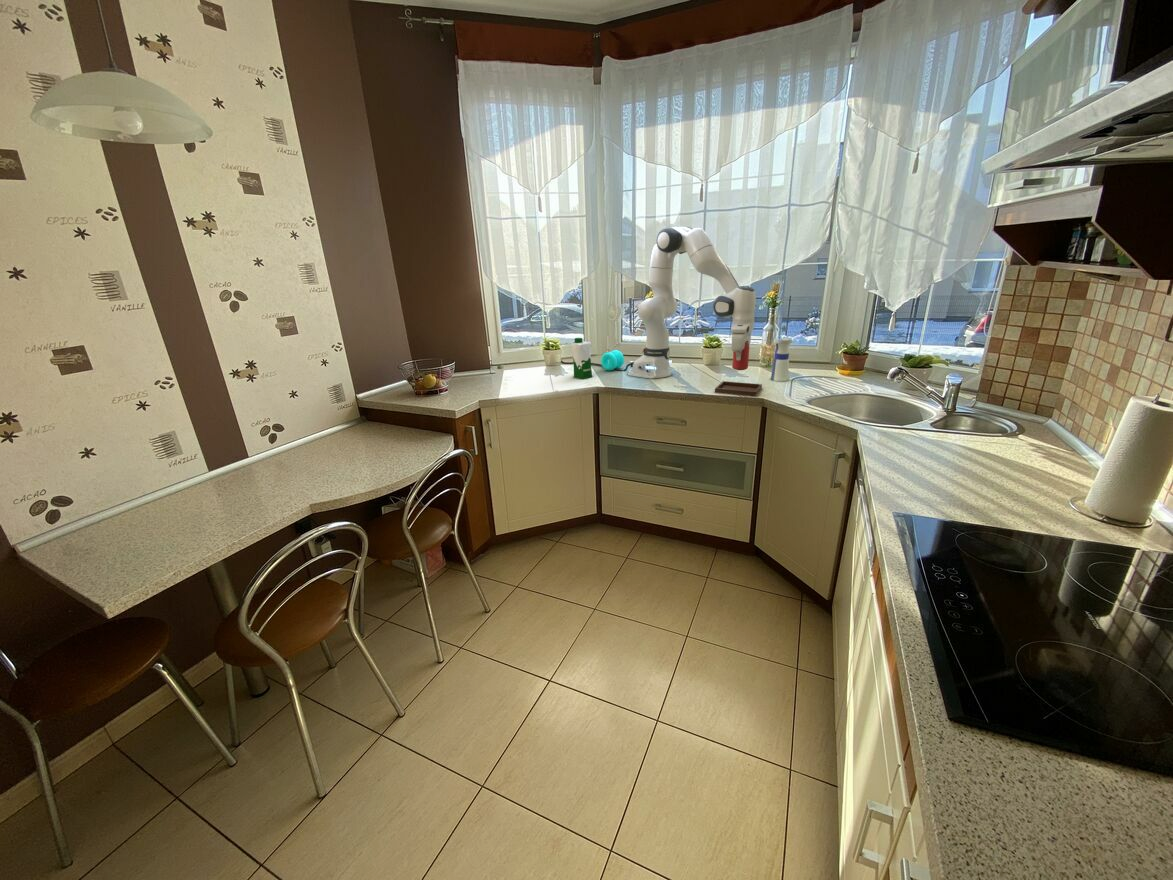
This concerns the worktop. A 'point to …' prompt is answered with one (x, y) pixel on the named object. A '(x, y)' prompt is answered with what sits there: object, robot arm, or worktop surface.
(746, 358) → the beer can
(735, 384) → the tray
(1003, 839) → the worktop surface
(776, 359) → the water bottle
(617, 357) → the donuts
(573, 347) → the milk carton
